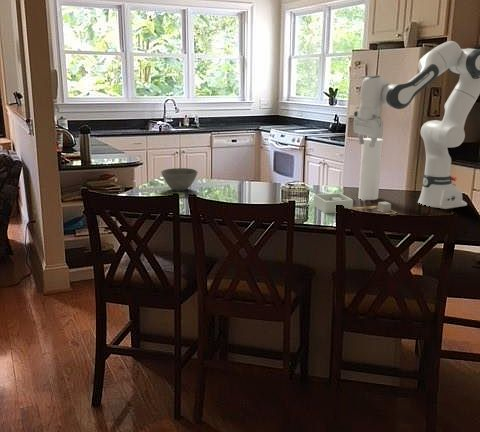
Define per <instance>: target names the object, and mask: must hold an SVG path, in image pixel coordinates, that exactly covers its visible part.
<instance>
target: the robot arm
mask: <svg viewBox="0 0 480 432" xmlns="http://www.w3.org/2000/svg"><path fill="white" fill-rule="evenodd" d="M417 68H418V69H417V70H418V73H417V74H416V75H415V76H413V77H412V78H411V79H409V80H408V81H407V82H404V83H398V84H397V83H396V84H395V83H391V82H388V81H387V80H386V79H384V78H382V76H381V75H376V74H375V75H369V76H366V77H363V79H362V82H361V86H360V93H359V94H360V95H359V98H360V99H359V100H360V103H359V107H358V109H357V110H355V111H353V117H354V118H353V127H352V128H353V129H352V130H353V133H355V134H357V136H358V144H359V145H362V144H364V140H363V138H364V136H366V137H368V138H371V143H370V144H369V147H371V148H374V147H375V143H376V141H377V138H379V139H383V138H382V137H383V136H384V123H383V120H382V118H381V116H380V114H381V113H380V112H381V106H383V107H389V108H390V107H391V108H393V109H396V110H402V109H405V108H407V107H408V106H409V105H410V104H411V103H412V101H413V100H414V98H415V97H416V96H417V95H418V94H419V93H420V92H422V91H423V90H424V89H425V88H426V87H428V86H429V85H430V84H431V83H432V82H434V80H436V79H437V77H439V76H440V75H442V74H443V73H445V72H446V71H448V72H450V73H453V74H458V75H459V79H458V82H457V83H456V84H455V86H454V88H453V90H452V91H451V93H450V95H449V96H448V98H447V100H446V102H445V103H444V115H443V117H442V120H438V119H437V120H436V119H435V120H434V119H433V120H428V121H426V122H425V123H423V124H422V126H421V128H420V132H419V133H420V137H421V138H422V140H423V143H424V144H423V145H424V149H425V150H424V151H425V164H424V165H425V166H424V173H423V176H422V177H423V178H422V187H421V192H420V195H419V198H418V201H417V204H419V203H420V204H419V205H421V204H422V205H421V206H424V205H426V207H429V206H430V207H429V208H438V209H439V208H440V209H444V210H447V209H454V208H459V207H466V206H468V203H467V202H466V201H465V200H463V193H462V190H461V189H459V188H458V187H456V185H454V183H452V182H456V181H457V179H458V177H456V176H451V175H450V174H451V165H452V157H451V156H450V154H449V150H448V148H456V147H459V146H461V144H463V142H464V140H465V137H466V133H465V129H464V128H465V124H466V120H467V118H468V115H469V113H470V112H471V110H472V108H473V106H474V104H475V103H476V101H477V99H478V98H479V96H480V48H470V47H467V48H461V46H460V45H459V43H457V42H456V41H453V40H448V41H445V42H443V43H441V44H439V45H437V46H436V47H434V48H432V49H431V50H429V51H428V52H426V53H425V54H424V55H423V56H422V57H421V58H420V59H419V60H418V64H417Z"/></svg>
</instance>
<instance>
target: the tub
mask: <svg viewBox="0 0 480 432" xmlns="http://www.w3.org/2000/svg"><path fill="white" fill-rule="evenodd" d="M333 197H340V198H341V199H342V200H339V201H331V198H333ZM312 204H313V205H312V206H313V207H315V208H316V209H318V210H319V211H321V212H323V213H324V214H333V213H335V207H336V205H337V204H339V205H343V206H344V207H345V208H348V209H353V208H354V199H352V198H351V197H349V196H346V195H344V194H342V193H341V192H337V193H336V192H335V193H334V192H333V193H318V194H313V203H312ZM335 214H336V213H335Z"/></svg>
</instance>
